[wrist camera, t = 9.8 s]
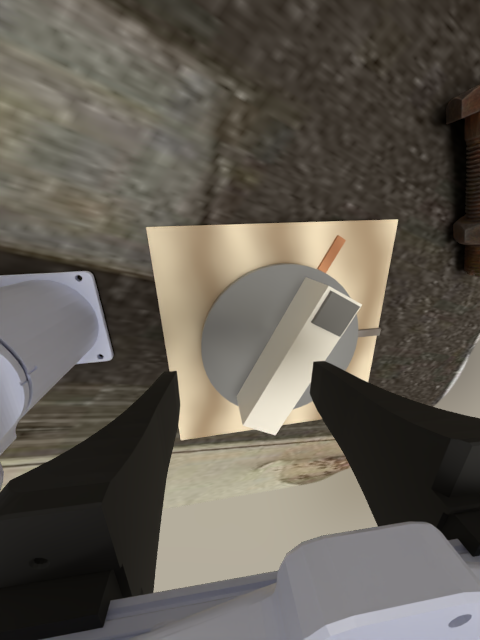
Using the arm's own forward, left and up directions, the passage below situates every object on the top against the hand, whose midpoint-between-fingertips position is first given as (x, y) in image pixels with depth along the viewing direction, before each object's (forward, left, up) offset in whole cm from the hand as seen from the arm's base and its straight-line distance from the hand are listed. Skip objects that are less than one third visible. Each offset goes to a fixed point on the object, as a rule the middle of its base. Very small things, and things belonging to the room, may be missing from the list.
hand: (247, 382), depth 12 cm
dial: (+4, -2, -8) cm, 9 cm away
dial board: (+4, -2, -10) cm, 11 cm away
